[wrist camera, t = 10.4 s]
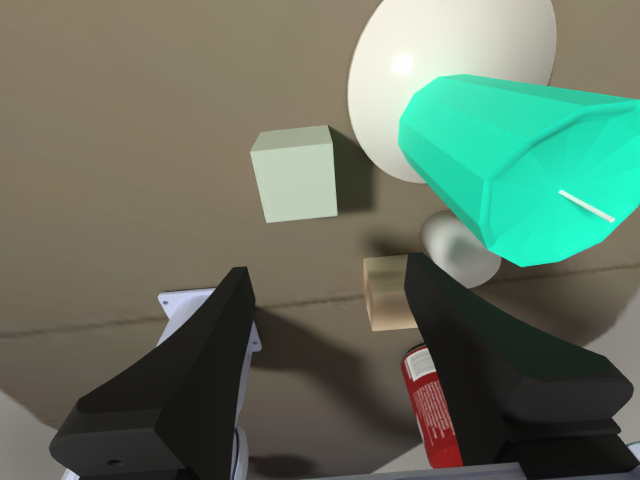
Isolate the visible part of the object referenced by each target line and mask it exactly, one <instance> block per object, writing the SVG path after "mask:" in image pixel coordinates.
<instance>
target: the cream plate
mask: <svg viewBox="0 0 640 480" xmlns="http://www.w3.org/2000/svg"><path fill="white" fill-rule="evenodd" d="M556 35H557V33H556V22H555V15H554V11H553V7H552V3H551V0H382V1H381V3H380V4H379V5H378V6H377V7H376V9H375V10H374V12H373V13H372V15H371V16H370V18H369V19H368V21H367V22H366V24H365V26H364V28H363V30H362V32H361V34H360V36H359V38H358V41H357V43H356V46H355V49H354V51H353V55H352V58H351V62H350V66H349V72H348V78H347V95H346V96H347V108H348V114H349V118H350V122H351V125H352V128H353V131H354V134H355V136H356V138H357V139H358V141H359V143H360V145H361V147H362V148H363V150H364V151H365V153H366V154H367V156H368V157H369V158H370V159H371V160H372V161H373V162H374V163H375V164H376V165H377V166H378V167H379V168H381V169H382V170H383V171H385V172H386V173H388V174H390V175H392V176H393V177H396V178H398V179H401V180H404V181H408V182H413V183H423V184H425V183H426V182H425V181H424V180H423V179H422V178H421V177H420V175H419V174H418V173H417V172H416V171H415V170H414V169H413V168H412V167H411V166H410V165H409V163H408V162H407V160H406V158H405V156H404V155H403V153H402V151H401V149H400V147H399V145H398V135H399V119H400V117H401V116H402V114H403V112H404V110H405V109H406V107H407V105H408V103H409V102H410V100H411V98H412V96H413V95H414V93H416V92H417V91H419V90H420V89H422V88H423V87H424V86H426V85H427V84H429V83H430V82H431V81H433V80H434V79H436V78H437V77H440V76H450V75H459V74H469V75H476V76H482V77H489V78H496V79H503V80H509V81H516V82H523V83H530V84H536V85H543V86H547V85H548V82H549V79H550V76H551V72H552V68H553V65H554V58H555V52H556Z"/></svg>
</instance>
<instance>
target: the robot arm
mask: <svg viewBox="0 0 640 480" xmlns="http://www.w3.org/2000/svg"><path fill="white" fill-rule="evenodd" d="M404 291H405V294H406V298H407V301H408V305H409V308H410V310H411V312H412V315H413V317H414V319H415V322H416V324H417V326H418V328H419V331H420V333H421V335H422V337H423V339H424V342H425V344H426V346H427V348H428V351H429V353H430V355H431V358H432V361H433V363H434V366H435V369H436V372H437V375H438V378H439V381H440V385H441V388H442V391H443V394H444V398H445V401H446V404H447V407H448V411H449V414H450V418H451V421H452V425H453V428H454V432H455V436H456V439H457V443H458V447H459V451H460V455H461V459H462V462H463V467H452V468H439V469H428V470H415V471H403V472H390V473H377V474H365V475H352V476H340V477H327V478H315V479H302V480H640V441H638V442H633V443H630V444H627V445H625V444H624V442H623V441H622V440H621V439H620V437H619V436H618V435H617V434H619V433H620V432H621V429H620V427H619V426H618V425H617V424H616V422H615V421H614V420H613V419H612V418H611V417H613V416H614V415H615V414H616V413H617V412H618V411H619V410H620V409H621V408H622V407H623V406H624V405H625V404H626V403H627V402H628V401H629V400H630V398H631V397H632V394H633V391H634V387H633V385H632V383H631V382H630V381H629V380H628V379H627V378H626V377H625V376H624V375H623V374H622V373H621V372H620V371H619V370H618V369H617V368H616V367H615V366H614V365H613V364H612V363H611V362H610V361H609V360H608V359H607V358H606V357H605V356H602V355H600V354H597V353H594V352H592V351H589V350H586V349H584V348H581V347H579V346H576V345H573V344H571V343H568V342H566V341H563V340H561V339H559V338H557V337H554V336H552V335H550V334H547V333H545V332H543V331H541V330H539V329H536V328H534V327H532V326H530V325H528V324H526V323H524V322H522V321H520V320H518V319H516V318H515V317H513V316H511V315H509V314H507V313H505V312H504V311H502V310H500V309H498V308H497V307H495V306H493V305H492V304H490V303H488V302H487V301H485V300H484V299H482V298H481V297H479V296H478V295H476V294H475V293H473V292H472V291H470V290H469V289H467V288H466V287H465V286H463V285H462V284H461V283H459V282H458V281H457V280H455V279H454V278H453V277H451V276H450V275H449V274H448V273H446V272H445V271H444V270H443V269H441V268H440V267H439V266H438V265H437V264H435V263H434V262H433V261H432V260H430V259H429V258H428V257H427V256H426V255H424V254H423V253H411V254H408V259H407V266H406V274H405V281H404ZM158 300H159V301H160V303H161V305H162V307H163V308H164V310H165V312H166V314H167V316H168V317H169V319H170V320H169V322H168V324H167V326H166V328H165V330H164V332H163V334H162V336H161V338H160V340H159V342H158V344H157V346H156V348H155V349H153V350H152V351H151V352H150V353H148V354H147V355H146V356H144V357H143V358H142V359H140V360H139V361H137V362H136V363H135V364H133V365H132V366H130V367H129V368H128V369H126V370H125V371H123V372H122V373H120V374H119V375H117V376H116V377H114V378H113V379H111V380H109V381H108V382H106V383H105V384H103V385H101V386H100V387H98V388H96V389H95V390H93V391H92V392H90V393H88V394H87V395H85V396H83V397H81V398H80V399H79V400H78V402H77V403H76V404H75V406H74V408H73V409H72V411H71V412H70V414H69V415H68V417H67V418H66V420H65V421H64V423H63V424H62V426H61V428H60V429H59V431H58V432H57V434H56V435H55V437H54V439H53V440H52V441H51V443H50V446H49V451H50V453H51V456H52V457H53V458H54V459H55V460H56V461H57V462H59V463H60V464H62V465H63V466H65V467H66V468H67V469H66V471H65V473H64V475H63V477H62V479H61V480H245V479H246V474H247V468H248V457H249V452H248V444H247V440H246V435H245V432H244V430H243V429H242V428H241V427H239V426H236V424H237V418H238V414H239V412H240V410H241V408H242V406H243V402H244V397H245V391H246V385H247V380H248V374H249V368H250V363H251V357H252V352H255V351H260V350H261V349H262V345H261V341H260V338H259V335H258V332H257V328H256V325H255V322H254V311H255V300H256V299H255V296H254V292H253V288H252V284H251V281H250V277H249V273H248V269H247V266H245V267H233V268H232V269H231V270H230V272H229V273H228V274H227V275H226V277H225V278H224V279H223V280H222V282H221V283H220V284H219V285H218V286H217V288H210V289H198V290H187V291H175V292H163V293H160V294H159V296H158ZM166 301H167V302H166Z"/></svg>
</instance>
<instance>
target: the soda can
mask: <svg viewBox="0 0 640 480" xmlns="http://www.w3.org/2000/svg"><path fill="white" fill-rule="evenodd" d="M401 370H402V373H403V376H404V380H405V383H406V386H407V390H408V393H409V397H410V400H411V403H412V407H413V410H414V413H415V417H416V420H417V423H418V427H419V430H420V433H421V437H422V440H423V443H424V447H425V450H426V454H427V457H428V460H429V463H430V465H431V466H432V467H433V469H439V468H452V467H463V462H462V459H461V455H460V451H459V447H458V443H457V439H456V436H455V432H454V428H453V425H452V421H451V418H450V414H449V411H448V407H447V404H446V401H445V398H444V394H443V391H442V388H441V385H440V381H439V378H438V375H437V372H436V369H435V366H434V363H433V361H432V358H431V355H430V353H429V351H428V348H427V346H426V344H424V345H420V346H418V347H416V348H414V349H413V350H411V351H410V352H408V353H407V354H406V355H405V356H404V357H403V359H402V361H401Z"/></svg>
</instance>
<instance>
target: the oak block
mask: <svg viewBox="0 0 640 480" xmlns="http://www.w3.org/2000/svg"><path fill="white" fill-rule="evenodd" d="M407 259H408V254H405V255H394V256H384V257H373V258H364V298H365V302H366V306H367V311H368V315H369V319H370V323H371V328H372V331H381V330H392V329H404V328H415V327H418V326H417V324H416V322H415V319H414V317H413V315H412V312H411V310H410V308H409V305H408V301H407V298H406V294H405V291H404V281H405V274H406V266H407Z"/></svg>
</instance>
